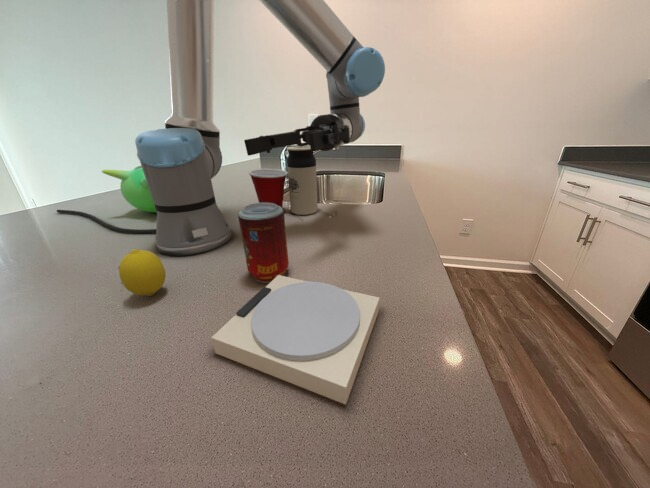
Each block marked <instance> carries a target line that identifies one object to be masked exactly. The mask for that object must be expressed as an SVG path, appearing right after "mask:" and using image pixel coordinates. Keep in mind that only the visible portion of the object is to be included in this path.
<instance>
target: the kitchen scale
mask: <svg viewBox="0 0 650 488" xmlns="http://www.w3.org/2000/svg"><path fill="white" fill-rule="evenodd" d="M379 310H380V297H379V296H374V295H370V294H365V293H361V292H356V291H351V290H347V289H344V288H341V287H338V286H336V285H334V284H331V283H327V282H321V281H307V280H304V279H303V280H302V279H299V278H294V277H289V276H286V275H284V276H281V275H278V276H277V277H276V278H275V279H273V280H272V281H271V282H269V283H267V285H266V286H263V287H262V288H261V289H260V290H259V291H258V292H257V293H256V294H255V295H254V296H253V297H251V298H250V299H249V300H248V301H247V302H246V303H245V304H244V305H243V306H242V307H241V308H239V310H237V312H236V313H235V315H234V316H232V318H230V319H229V320H228V321H227V322H226V323H225V324H224V325H222V327H221V328H220V329H219V330H218V331H216V332H215V333H214V334H213V335H212V336H211V338H210V339H211V342H212V347H213V349H214V352H215V355H218V356H221V357H224V358H226V359H229V360H232V361H234V362H236V363H239V364H242V365H244V366H246V367H248V368H251V369H254V370H257V371H259V372H261V373H264V374H267V375H269V376H272V377H273V378H276V379H279V380H281V381H285V382H286V383H290V384H291V385H294V386H297V387H300V388H302V389H305V390H307V391H310V392H312V393H315V394H317V395H320V396H322V397H325V398H327V399H329V400H332V401H334V402H338V403H340V404H343V405H345V406H346V405H347V403H348V400H349V397H350V394H351V391H352V389H353V387H354V383H355V380H356V377H357V375H358V371H359V369H360V366H361V364H362V360H363V357H364V355H365V352H366V349H367V346H368V343H369V340H370V337H371V334H372V332H373V328H374V326H375V323H376V320H377V318H378V315H379V312H380V311H379Z"/></svg>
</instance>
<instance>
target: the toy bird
mask: <svg viewBox="0 0 650 488" xmlns="http://www.w3.org/2000/svg"><path fill="white" fill-rule="evenodd" d="M101 173H103V174H105V175H107V176H110V177H112V178H115V179H119V180H121V181H120V187H119V188H120V192H121V195H122V197H123V198H124V199H125V201H126V202H127V203H128V204H129V205H131V206H132V207H134V208H136V209H138V210H140V211H142V212H143V211H144V212H148V213H157V212H156V208H155V205H154V202H153V199H152V196H151V193H150V190H149V187H148V184H147V181H146V178H145V175H144V172H143V169H142V166H141V165H139V166H136V167H134V168H131V169H130V170H121V169H102V170H101Z"/></svg>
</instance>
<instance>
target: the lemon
mask: <svg viewBox="0 0 650 488" xmlns="http://www.w3.org/2000/svg"><path fill="white" fill-rule="evenodd" d="M118 273H119V275H118V276H119V279H120V281H121V283H122V285H123V286H124V288H125V289H126V290H127V291H128V292H130V293H131V294H134V295H137V296H150V297H151V296H153V295H155V294H156V292H158V291H159V290H160V289H161V288H162V287H163V285H164V284H165V281H166V276H167V275H166V270H165V266H164V264H163V262H162V260H161V259H160V258H159V256H158V255H156V254H155V253H154V252H151V251H148V250H145V249H137V248H134V249H132V250H131V251H130V252H128V253H127V254H126V255H125V256H124V257H123V258H121V261H120V263H119V265H118Z"/></svg>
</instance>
